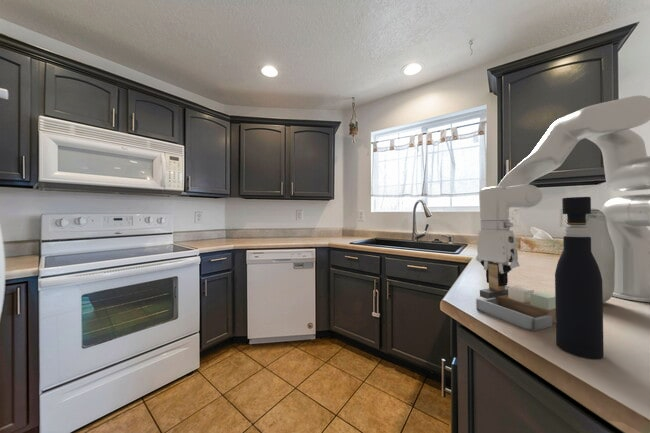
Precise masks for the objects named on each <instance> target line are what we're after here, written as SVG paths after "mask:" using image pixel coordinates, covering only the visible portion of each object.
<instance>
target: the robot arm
mask: <svg viewBox="0 0 650 433" xmlns="http://www.w3.org/2000/svg"><path fill="white" fill-rule="evenodd" d="M648 122H650V97H648V96H645V95H632V96H627V97H623V98H622V97H621V98H619V99H618V98H617V99H613V100H610V101H605V102H600V103H597V104H595V103H594V104H592V105H588V106H586V107H583V108H580V109H578V110H576V111H574V112H571V113H569V114H566V115H564V116H562V117H559V118H558V119H557V120H555V121H554V122H553V123H552V124H551V125H550V126H549V128H548V129H547V130H546V132H545V133H544V134H543V136H542V137H541V139H540V140H539V141H538V143H537V144H536V146H535V147H534V148H533V150H532V151H531V152H530V154H529V155H528V156H526V157H525V158H524V159H522V161H520V162H519V163H518V164H517V165H516V166H515V167H514V168H512V169H511V170H509V172H507V173H506V174H505V176H503V178H502V179H501V180H500V182H499V183H498V184H497V186H488V187H483V188H481V189H480V191H479V195H478V196H479V216H480V219H479V220H480V223H479V224H480V229H479V230H478V236H477V243H476V244H477V245H476V246H477V248H476V249H477V250H476V252H477V255H476V257H475V260H476V261H477V262H478V263H479V264H480V265H482V267H483V270H485V276H486V277H485V278H486V283H487V284H489V274H488V263H498V265H499V272H500V273H498V285H499V286H508V283H509V278H508V277H509V276H508V273H510V271H512V270H513V269H517V268H519V267H520V266H521V265H520V264H519V261H518V260H519V257H518V256H519V255H518V254H519V253H518V248H517V240H516V237H515V236H516V235H515V233H514V230H511V228H513V227H514V223H513V222H510V221H511V220H510V210H527V209H531V208H534V207H536V206H538V205H539V204H540V203H541V201H542V199H543V192H542V191H541V189H540V188H539V187H537V186H536V185H533V184H530V183H532V182H534V181H535V180H537V179H539V178H541V177H543V176H545V175H548V174H549V173H552V172H553V171H555V170H556V169H558V168H559V167H561V166H562V165H563V163H564V162H565V160H566V159H567V158H568V156H569V155H570V153H571V152H572V151H573V150H574V148H575V147H576V145H577V144H578V143H579V142H580V141H581V140H584V139H586V140H588V141H591V143H594V144H595V145H596V146H597V147H598V148H599V149H600V151H601V155H602V162H603V170H604V176H605V184H606V187H608V188H609V190H612V191H615V192H633V191H647V190H650V156H648V153H647V147H646V143H645V140H644V139H643V137H641V136H640V135H639V134H638V133H636V132H635V131H633V129H634V128H638V127H640V126H643V125H645V124H646V123H648ZM631 129H632V130H631ZM601 212H603V213H604V215H605V217H606V222H607V227H608V232H609V235H610V238H611V240H612V243H613V246H614V252H615V287H614V293H613V295H612V297H615V298H619V299H623V300H630V301H635V302H643V303H650V229H649V228H648V227H650V193H647V194H643V193H642V194H629V195H628V194H626V195H620V196H616V197H612V198H610V199H608V200H607V201H605V202H604V204H603V205H602V208H601Z"/></svg>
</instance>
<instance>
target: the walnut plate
mask: <svg viewBox="0 0 650 433" xmlns="http://www.w3.org/2000/svg"><path fill="white" fill-rule="evenodd" d="M497 305H499V306H502V307H505V308H508V309H511V310H514V311H517V312H519V313H522V314H525V315H528V316H531V317H534V318H537V317H541V316H546V315H550V316H552V324H556V309H553V310H546V309H542V308H539V307H536V306H533V305H530V302H526V303H523V302H520V301H516V300H513V299H510V298H508V295H503V296H498V298H497Z"/></svg>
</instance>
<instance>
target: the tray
mask: <svg viewBox="0 0 650 433" xmlns="http://www.w3.org/2000/svg"><path fill="white" fill-rule="evenodd" d="M475 301H476V302H475V303H476V305H475V306H476V308H475V309H476V310H478V311H479V312H482V313H485V314H487V315H491V316H493V317H496V318H498V319H500V320H503V321H505V322H508V323H511V324H513V325H516V326H517V327H521V328H523V329H525V330H528V331H530V332H535V331H540V330H543V329H547V328H551V327H553V323H552V316H550V315H546V316H541V317H537V318H534V317H531V316H528V315H525V314H522V313H519V312H517V311H514V310H511V309H508V308H505V307H502V306H499V305H498V298H489V299H486V298H483V299H481V298H479V297H478V298H476V299H475Z"/></svg>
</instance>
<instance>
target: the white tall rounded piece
mask: <svg viewBox="0 0 650 433" xmlns="http://www.w3.org/2000/svg"><path fill="white" fill-rule="evenodd" d="M567 227H588V230H589V231H588V233H589V235H588V237H591V252H592V254H593V256H594V258H595V260H596V262H597V264H598V266H599V270H600V273H601V277H602V287H603V303H605V302H608V301H609V300H610V299H611V298H612V297H613V296H612V295H613V293H614V287H615V252H614V246H613V243H612V240H611V238H610V235H609V232H608V227H607V222H606V217H605V215H604V213H603V212H602V210H600V209H598V208H593V207H591V214H586V225H568V226H567ZM563 250H564V248H562V251H563Z"/></svg>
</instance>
